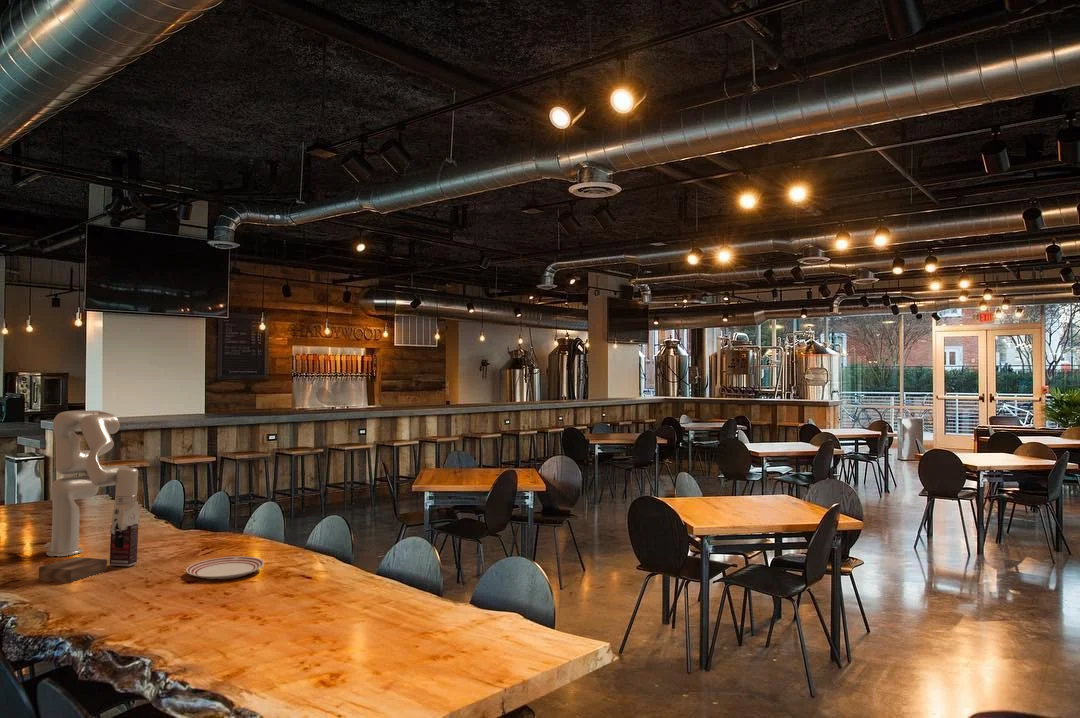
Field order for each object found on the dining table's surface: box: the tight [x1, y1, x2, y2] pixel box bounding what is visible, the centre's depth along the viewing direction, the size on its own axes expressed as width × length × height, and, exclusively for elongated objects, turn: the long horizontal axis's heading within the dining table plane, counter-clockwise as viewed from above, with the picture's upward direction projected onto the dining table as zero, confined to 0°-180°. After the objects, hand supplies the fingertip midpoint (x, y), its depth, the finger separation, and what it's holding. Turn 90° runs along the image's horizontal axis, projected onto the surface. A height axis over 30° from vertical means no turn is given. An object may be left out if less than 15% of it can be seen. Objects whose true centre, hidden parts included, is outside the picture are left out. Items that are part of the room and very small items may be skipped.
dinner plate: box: [185, 556, 265, 580], centre depth 272 cm, size 27×27×3 cm
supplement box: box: [109, 524, 139, 567], centre depth 280 cm, size 9×5×16 cm, turn 84°
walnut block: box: [38, 556, 108, 584], centre depth 265 cm, size 14×16×5 cm
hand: (124, 545), depth 280 cm, fingers closed on supplement box, 4 cm apart
